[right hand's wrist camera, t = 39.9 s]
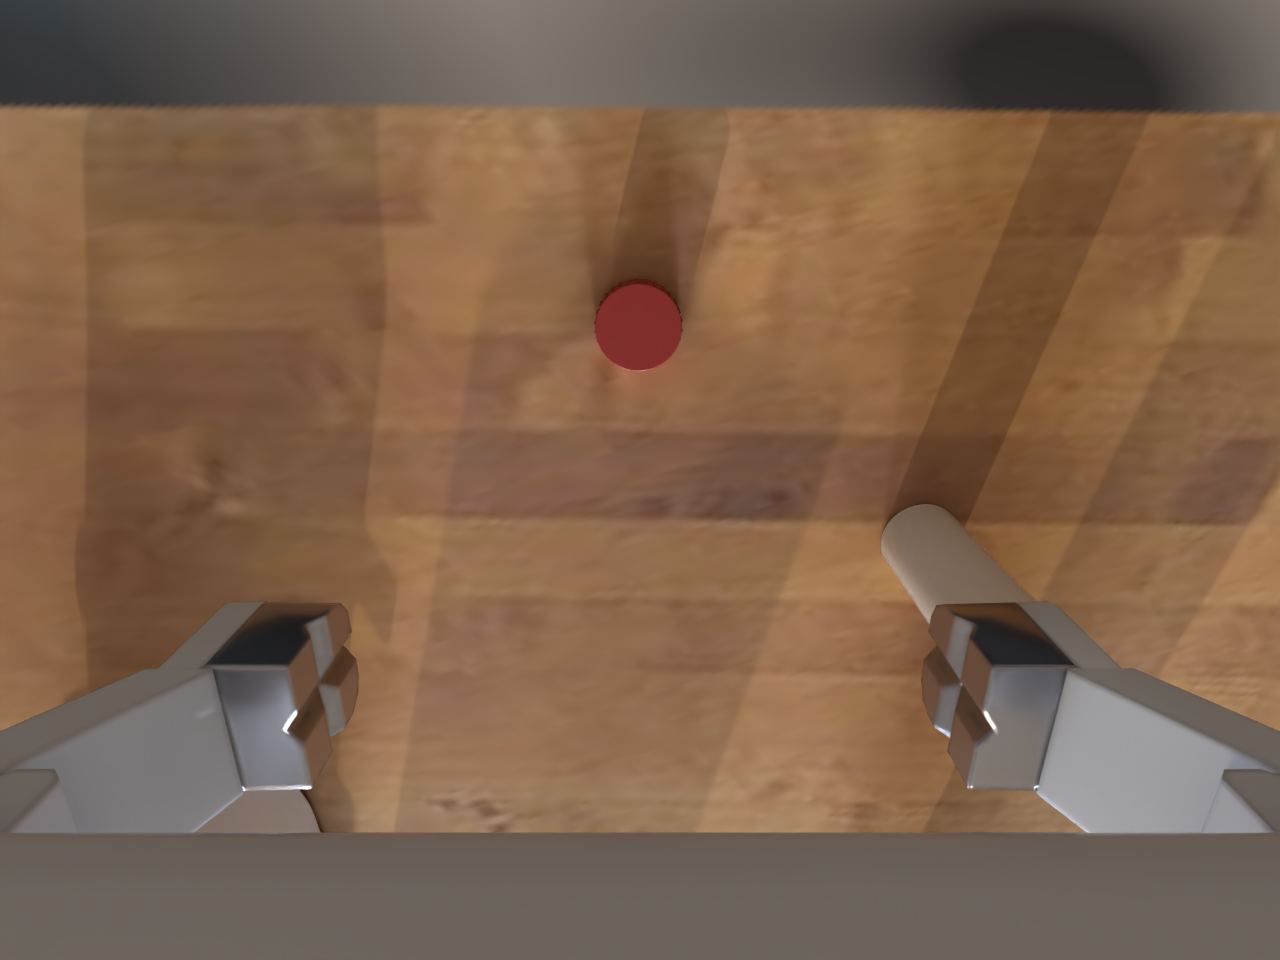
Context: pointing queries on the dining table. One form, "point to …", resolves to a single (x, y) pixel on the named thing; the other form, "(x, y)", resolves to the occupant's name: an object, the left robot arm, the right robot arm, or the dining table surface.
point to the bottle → (944, 561)
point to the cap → (638, 325)
